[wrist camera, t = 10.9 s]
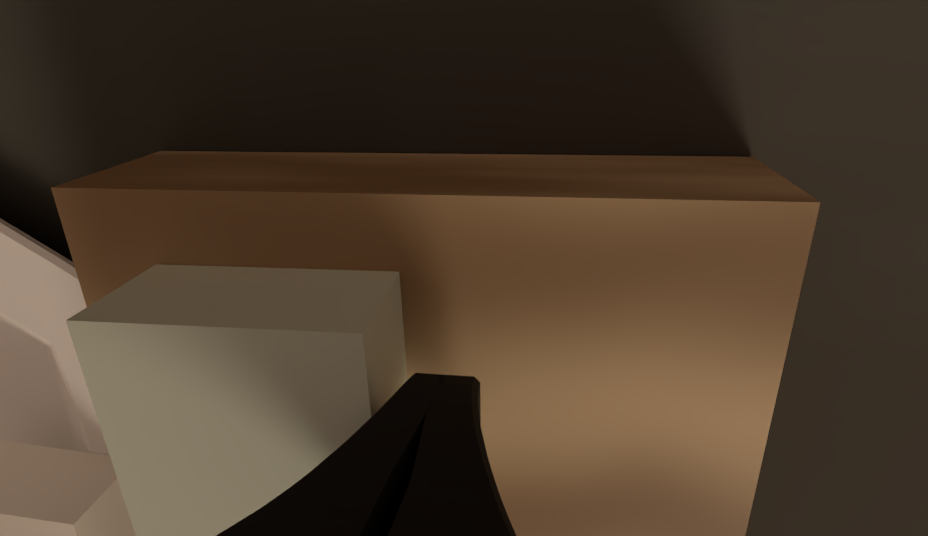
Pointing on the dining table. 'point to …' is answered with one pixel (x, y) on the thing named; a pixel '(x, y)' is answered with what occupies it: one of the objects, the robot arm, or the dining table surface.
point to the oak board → (522, 301)
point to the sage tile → (234, 382)
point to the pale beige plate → (41, 349)
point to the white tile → (59, 493)
